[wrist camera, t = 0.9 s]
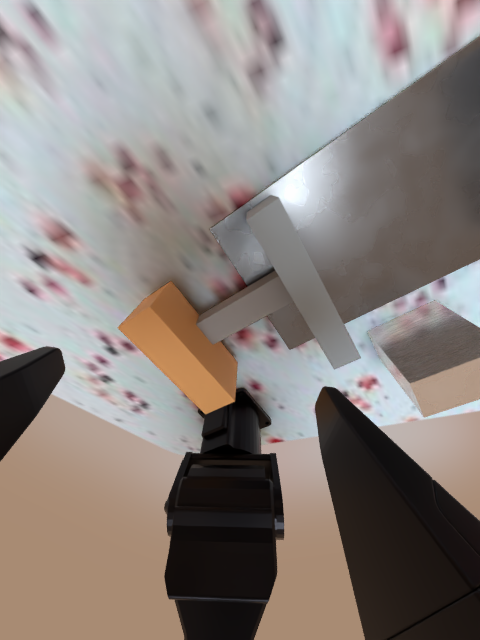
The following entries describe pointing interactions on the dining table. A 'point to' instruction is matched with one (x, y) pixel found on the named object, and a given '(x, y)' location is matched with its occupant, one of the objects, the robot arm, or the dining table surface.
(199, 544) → the robot arm
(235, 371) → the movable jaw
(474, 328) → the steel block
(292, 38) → the dining table surface
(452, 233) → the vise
